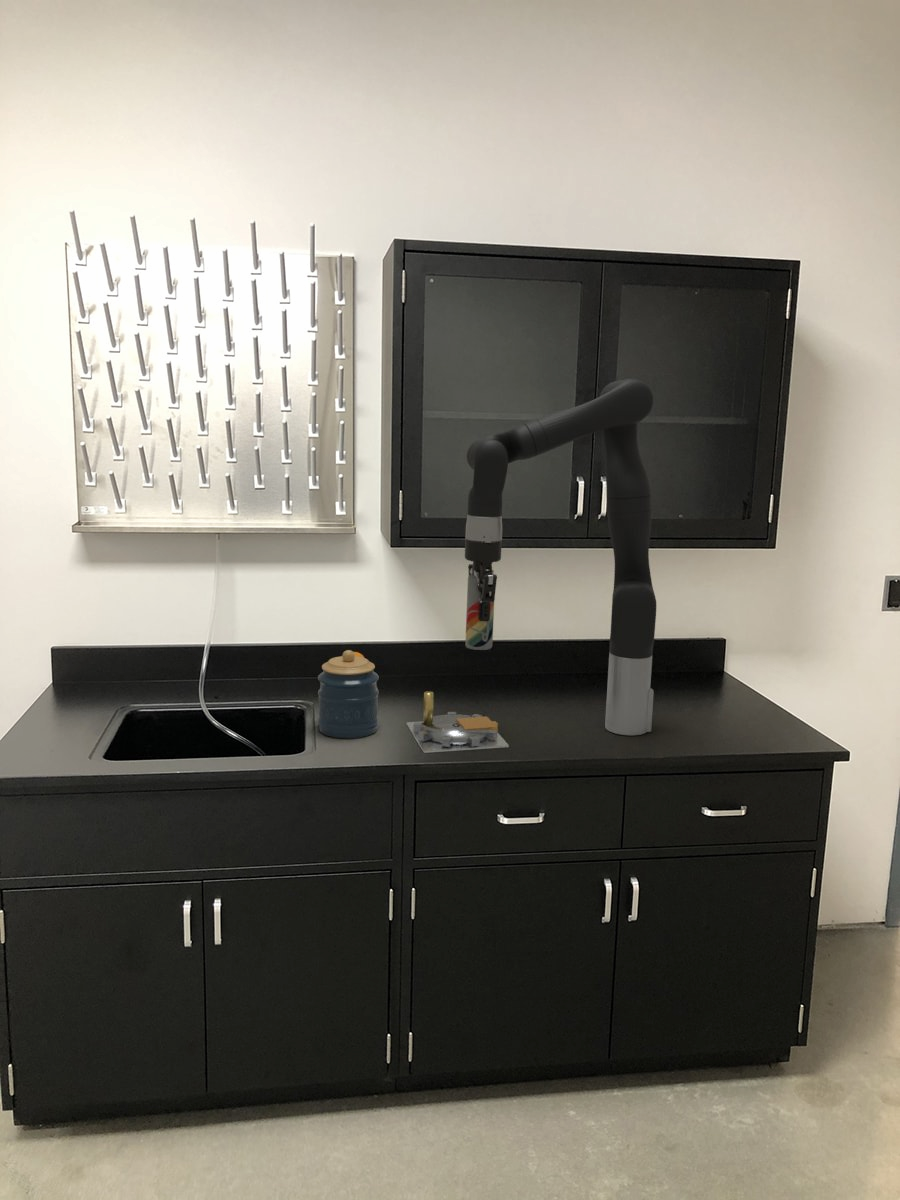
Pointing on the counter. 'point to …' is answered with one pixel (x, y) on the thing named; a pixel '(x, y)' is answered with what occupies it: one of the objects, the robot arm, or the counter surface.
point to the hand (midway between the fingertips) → (480, 617)
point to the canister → (348, 697)
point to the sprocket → (454, 726)
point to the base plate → (436, 746)
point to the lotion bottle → (476, 630)
